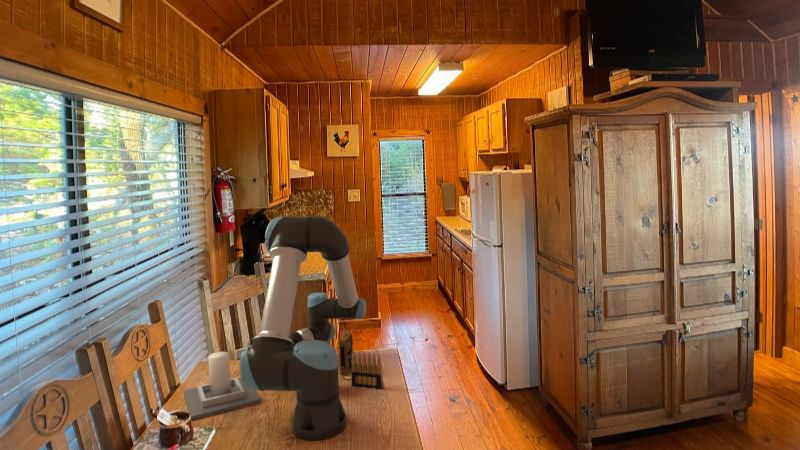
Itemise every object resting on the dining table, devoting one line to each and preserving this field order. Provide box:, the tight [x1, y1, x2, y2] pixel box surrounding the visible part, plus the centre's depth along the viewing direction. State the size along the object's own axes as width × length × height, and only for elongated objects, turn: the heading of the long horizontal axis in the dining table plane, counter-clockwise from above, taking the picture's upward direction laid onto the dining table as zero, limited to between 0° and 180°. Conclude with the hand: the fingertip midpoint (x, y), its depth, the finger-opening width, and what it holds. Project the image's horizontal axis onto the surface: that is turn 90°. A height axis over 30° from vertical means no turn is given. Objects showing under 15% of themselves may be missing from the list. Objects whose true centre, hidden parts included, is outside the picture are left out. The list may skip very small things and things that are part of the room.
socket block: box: [183, 377, 261, 421], centre depth 150 cm, size 20×20×3 cm
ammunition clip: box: [351, 350, 384, 390], centre depth 155 cm, size 11×2×12 cm, turn 72°
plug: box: [207, 351, 231, 397], centre depth 150 cm, size 6×6×13 cm
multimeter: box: [338, 315, 354, 381], centre depth 167 cm, size 15×10×20 cm
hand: (246, 359), depth 157 cm, fingers open, 13 cm apart
